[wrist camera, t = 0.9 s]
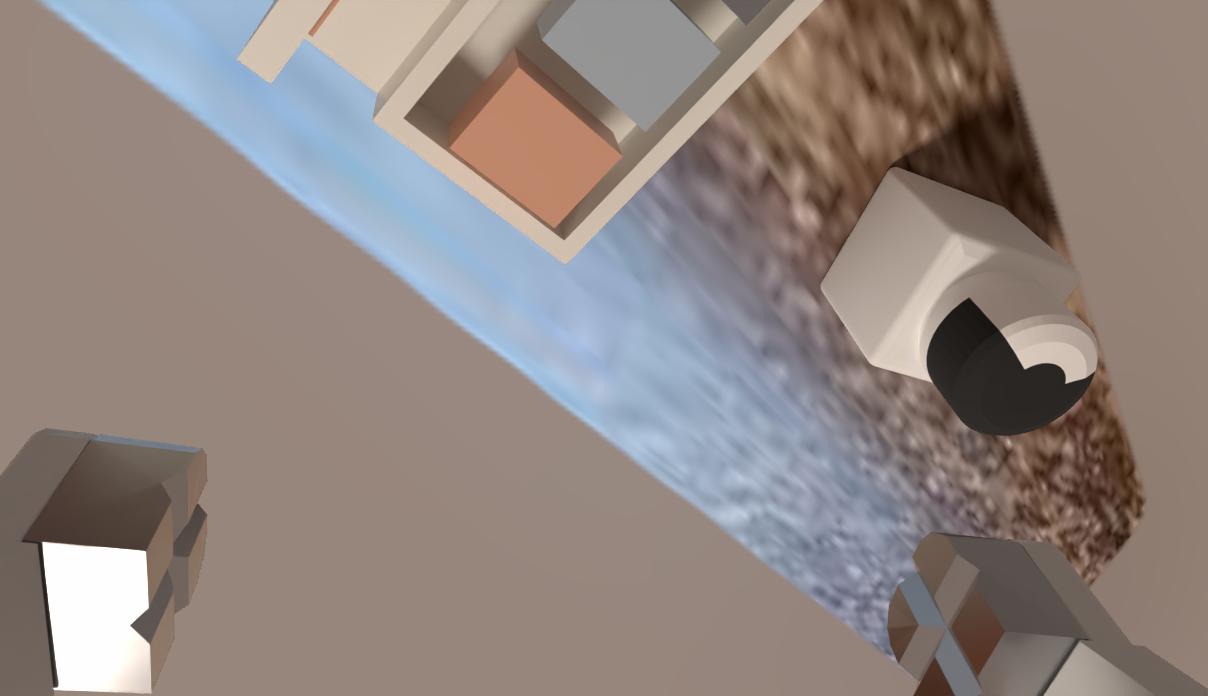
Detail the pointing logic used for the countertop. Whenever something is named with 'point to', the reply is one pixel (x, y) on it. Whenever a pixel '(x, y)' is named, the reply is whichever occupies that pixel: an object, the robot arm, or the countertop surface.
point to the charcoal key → (746, 8)
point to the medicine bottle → (963, 304)
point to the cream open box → (471, 54)
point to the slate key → (630, 50)
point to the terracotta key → (533, 139)
